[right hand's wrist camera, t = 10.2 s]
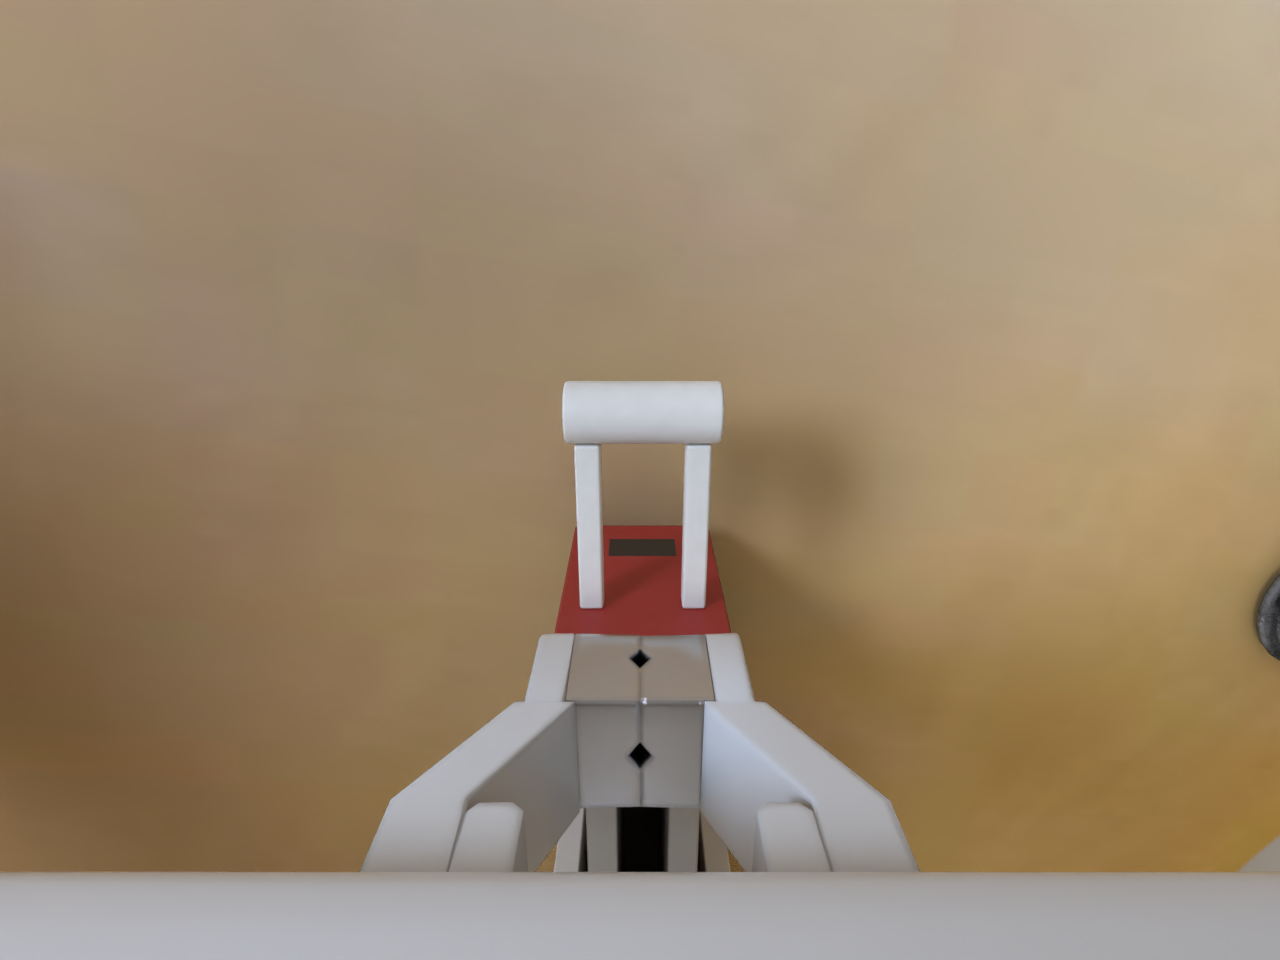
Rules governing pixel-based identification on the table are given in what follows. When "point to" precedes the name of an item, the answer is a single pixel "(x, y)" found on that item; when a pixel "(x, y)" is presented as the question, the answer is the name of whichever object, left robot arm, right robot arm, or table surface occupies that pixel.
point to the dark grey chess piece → (1270, 620)
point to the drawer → (642, 575)
